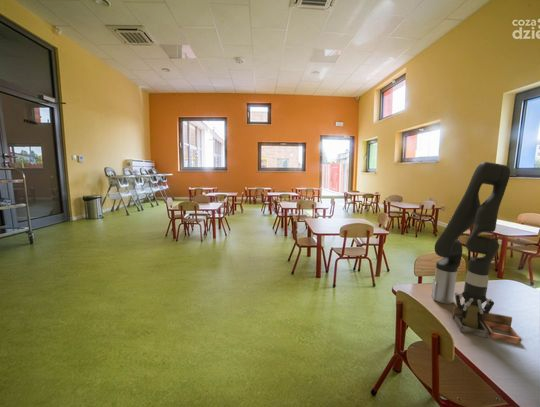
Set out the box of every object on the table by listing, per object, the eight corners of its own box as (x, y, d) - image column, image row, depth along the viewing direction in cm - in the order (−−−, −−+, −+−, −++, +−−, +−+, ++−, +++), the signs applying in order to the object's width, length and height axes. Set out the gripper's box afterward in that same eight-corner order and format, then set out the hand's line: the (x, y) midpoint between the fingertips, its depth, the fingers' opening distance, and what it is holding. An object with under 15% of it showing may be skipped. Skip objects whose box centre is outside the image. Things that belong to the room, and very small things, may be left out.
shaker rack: (459, 331, 112) (460, 318, 112) (452, 317, 123) (454, 306, 122) (521, 345, 105) (524, 331, 104) (508, 329, 115) (511, 316, 114)
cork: (457, 322, 118) (460, 300, 116) (470, 322, 118) (473, 299, 117) (468, 331, 112) (472, 307, 110) (481, 331, 112) (485, 307, 111)
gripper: (458, 282, 111) (453, 319, 114) (500, 289, 106) (494, 328, 108) (454, 275, 118) (449, 310, 121) (493, 282, 113) (487, 318, 115)
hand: (470, 318), depth 114 cm, fingers closed on cork, 4 cm apart
